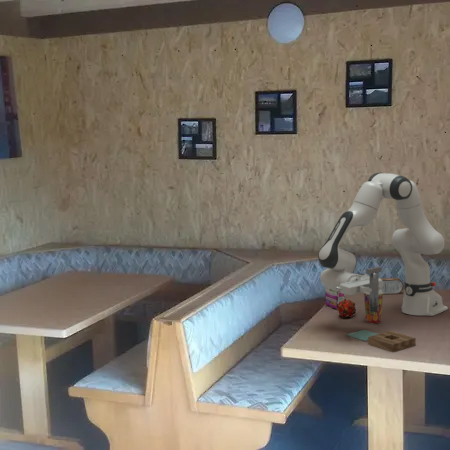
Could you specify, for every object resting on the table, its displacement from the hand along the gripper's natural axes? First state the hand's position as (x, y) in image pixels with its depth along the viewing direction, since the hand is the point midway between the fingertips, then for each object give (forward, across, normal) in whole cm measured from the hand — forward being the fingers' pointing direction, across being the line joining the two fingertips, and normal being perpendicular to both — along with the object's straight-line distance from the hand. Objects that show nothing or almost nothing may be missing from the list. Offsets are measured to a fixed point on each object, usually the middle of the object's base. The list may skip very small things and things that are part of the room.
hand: (375, 289), depth 270 cm
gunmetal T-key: (-1, 0, +9) cm, 9 cm away
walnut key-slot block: (+9, 0, +21) cm, 23 cm away
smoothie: (-18, +18, +21) cm, 33 cm away
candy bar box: (-48, +24, +21) cm, 58 cm away
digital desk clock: (-48, +62, +21) cm, 81 cm away
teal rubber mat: (-6, 0, +21) cm, 22 cm away
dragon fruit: (-32, +15, +21) cm, 41 cm away
